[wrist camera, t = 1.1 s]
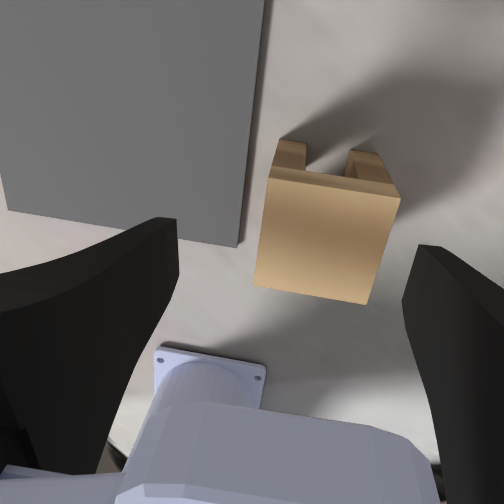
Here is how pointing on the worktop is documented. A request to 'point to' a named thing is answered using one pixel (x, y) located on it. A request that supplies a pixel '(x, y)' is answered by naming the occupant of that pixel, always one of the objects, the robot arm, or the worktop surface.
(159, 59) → the mat
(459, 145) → the worktop surface
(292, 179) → the tan notched block
